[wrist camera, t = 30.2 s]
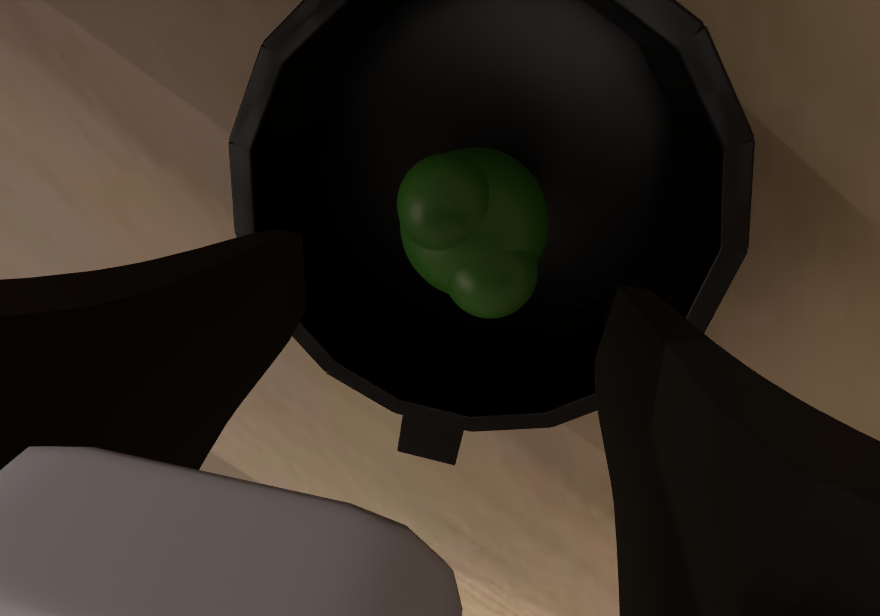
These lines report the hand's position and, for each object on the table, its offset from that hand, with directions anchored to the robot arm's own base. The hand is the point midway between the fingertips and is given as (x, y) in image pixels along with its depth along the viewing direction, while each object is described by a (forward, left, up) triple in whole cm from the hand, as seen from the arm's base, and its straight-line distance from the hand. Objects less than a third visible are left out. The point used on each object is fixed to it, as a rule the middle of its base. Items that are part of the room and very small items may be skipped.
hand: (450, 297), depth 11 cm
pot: (0, 0, -9) cm, 9 cm away
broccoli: (0, 0, -9) cm, 9 cm away
